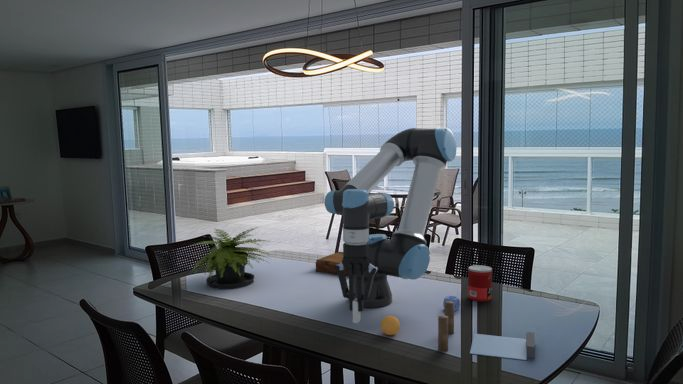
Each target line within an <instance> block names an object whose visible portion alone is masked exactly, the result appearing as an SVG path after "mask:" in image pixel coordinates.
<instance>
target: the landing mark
mask: <svg viewBox="0 0 683 384" xmlns="http://www.w3.org/2000/svg"><path fill="white" fill-rule="evenodd" d="M469 355H477V356H484V357H485V356H486V357H493V358H501V359H502V358H503V359H512V360H520V361H527V360H528V359H527V358H528V357H527V354H526V338H521V337H509V336H500V335H499V336H498V335H491V334H482V333H481V334H480V333H473V338H472V342H471V347H470V351H469Z"/></svg>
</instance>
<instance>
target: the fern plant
mask: <svg viewBox="0 0 683 384" xmlns="http://www.w3.org/2000/svg"><path fill="white" fill-rule="evenodd" d="M255 229H258V227H255V228H250V229H246V231H241V232H240V233H239V234H238V235H235V236H234V237H231V236H230V233H229V232H228V231H225V230H222V229H220V228H214V229H213V230H214V234H217V236H216V237H214V236H209V238H211V239H213V240H206V241H205V240H203V241H200V242H197V243H192V244H190V245H189V247H192V246H196V245H198V246H199V245H206V246H207V245H209V244H210V245H211V244H212V245H213V244H214V245H215V246H214V247H212V248H209V249H205V248H204V249H203V250H201V251H195V252H193V253H192V254H191V255H194V256H193V257H191V259H193V258H196V254H197V258H199V257H201V258H200V260H197V261H196V262H194V263H193V264H191V265H190V266H189V269H191V268H192V267H193V266H194V267H193V268H192V271H191V272H190V273H189V275H190V274H192V273H193V271H194V270H195V272H194V273H193V275H195V274H196V273H197V272H198V270H199V268H200V269H202V268H203V267H205V269H204V271H205V272H204V275H206V274H207V272H208V277H207V278H206V286H207V287H209V288H210V289H215V290H235V289H241V288H246V287H248V286H251V285H252V284H254V282H255V275H254V274H252V273H250V272H246V271H245V269H246V266H249V267H250V268H251V269H252V270H253V269H254V265H252V263H251V262H250V260H253V261H255V262H257V263H258V264H260V261H262V262H266V263H267V264H270V262H268V261H267V260H265V259H264V258H267V259H268V260H269V259H270V260H271V257H270V258H269V257H268V256H272V254H270V253H268V251H266V250H264V249H260V248H259V247H246V246H245V247H244V246H241V245H245V244H250V243H251V244H255V245H257V246H260V244H259V243H258V242H266V243H267V242H268V243H271V241H270V240H266V239H259V238H254V239H252V238H251V237H253V236H254V234H249V232H252V231H254V230H255ZM205 237H207V236H205V235H204V238H205ZM246 238H248V239H246ZM245 239H246V240H245ZM205 253H207V254H206V255H204V254H205ZM258 253H259V254H258ZM202 254H203V255H202ZM262 254H265V255H267V256H265V255H262ZM188 256H190V254H188V255H186V256H184V258H186V257H188ZM261 257H263V258H261ZM214 272H215V273H214Z"/></svg>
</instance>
